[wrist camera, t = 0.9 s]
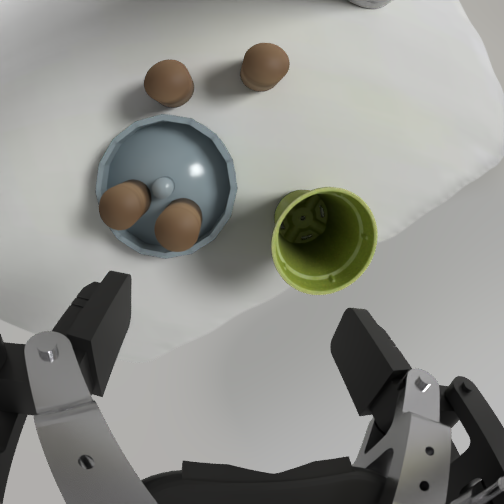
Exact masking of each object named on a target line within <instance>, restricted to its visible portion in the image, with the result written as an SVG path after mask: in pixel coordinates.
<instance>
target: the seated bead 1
mask: <svg viewBox="0 0 504 504" xmlns="http://www.w3.org/2000/svg"><path fill="white" fill-rule="evenodd" d="M150 205H151V193H150V190H149V188H148V187H147V186H146V184H144V183H143V182H141V181H139V180H135V179H131V180H127V181H125V182H123V183H120V184H118V185H116V186H114V187H112V188H110V189H108V190H107V191H105V192H104V194H103V195H102V197H101V199H100V202H99V212H100V216H101V218H102V220H103V221H104V223H105V224H106V225H107V226H109V227H110V228H112V229H115V230H126V229H128V228H130V227H131V226H132V225H134V224H135V223H136V222H137V221H138V220H139V219H140V218H141V217H142V216H143V215H144V214H145V213H146V212H147V210H148V209H149V207H150Z"/></svg>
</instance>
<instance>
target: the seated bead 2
mask: <svg viewBox="0 0 504 504" xmlns="http://www.w3.org/2000/svg"><path fill="white" fill-rule="evenodd" d="M201 224H202V211H201V209H200V207H199V206H198V204H197V203H195V202H194V201H192V200H190V199H187V198H179V199H176V200H173V201H172V202H171V203H170V204H169V205H168V206H167V207H166V208H165V209H164V211H163V212H162V213H161V214H160V215H159V217H158V218H157V220H156V223H155V227H154V231H155V236H156V239H157V240H158V242H159V243H160V245H162V246H163V247H164V248H165V249H167V250H170V251H173V252H182V251H186V250H188V249H190V248H191V247H192V246H193V245H194V244H195V243H196V241H197V239H198V236H199V232H200V228H201Z"/></svg>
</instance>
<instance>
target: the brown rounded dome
mask: <svg viewBox="0 0 504 504" xmlns="http://www.w3.org/2000/svg"><path fill="white" fill-rule="evenodd" d="M144 87H145V90H146V92H147V94H148V95H149V96H150V97H151V98H153V99H154V100H156V101H158V102H159V103H161V104H162V105H164V106H167V107H179V106H181V105H183V104H185V103H186V102H187V101H189V99H190V98H191V97H192V95H193V92H194V83H193V80H192V78H191V76H190V74H189V72H188V70H187V68H186V67H185V66H184V65H183V64H182V63H181V62H179V61H176V60H163V61H160V62H158V63H156V64H155V65H153V66H152V67H151V68H150V69H149V71H148V72H147V74H146V76H145V80H144Z"/></svg>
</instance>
